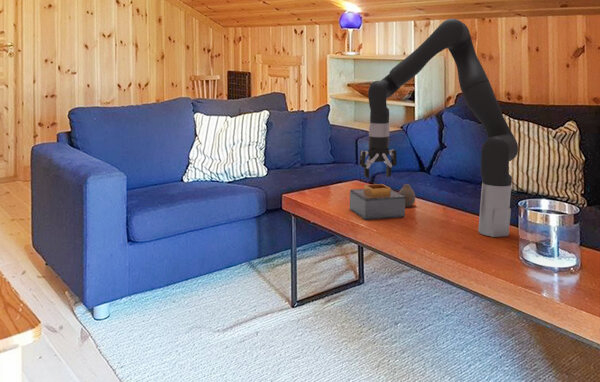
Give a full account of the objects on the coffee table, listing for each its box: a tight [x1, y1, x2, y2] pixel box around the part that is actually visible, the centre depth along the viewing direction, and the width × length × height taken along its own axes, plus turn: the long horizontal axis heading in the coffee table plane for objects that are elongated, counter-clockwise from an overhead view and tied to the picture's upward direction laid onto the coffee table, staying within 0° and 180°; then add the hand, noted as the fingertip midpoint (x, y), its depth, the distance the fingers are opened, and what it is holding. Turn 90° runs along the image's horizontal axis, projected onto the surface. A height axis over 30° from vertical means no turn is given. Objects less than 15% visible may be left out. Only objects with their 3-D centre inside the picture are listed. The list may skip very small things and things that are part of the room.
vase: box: [398, 183, 416, 208], centre depth 216 cm, size 7×7×9 cm
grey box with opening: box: [349, 183, 406, 221], centre depth 207 cm, size 20×16×10 cm
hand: (377, 177), depth 203 cm, fingers open, 8 cm apart
